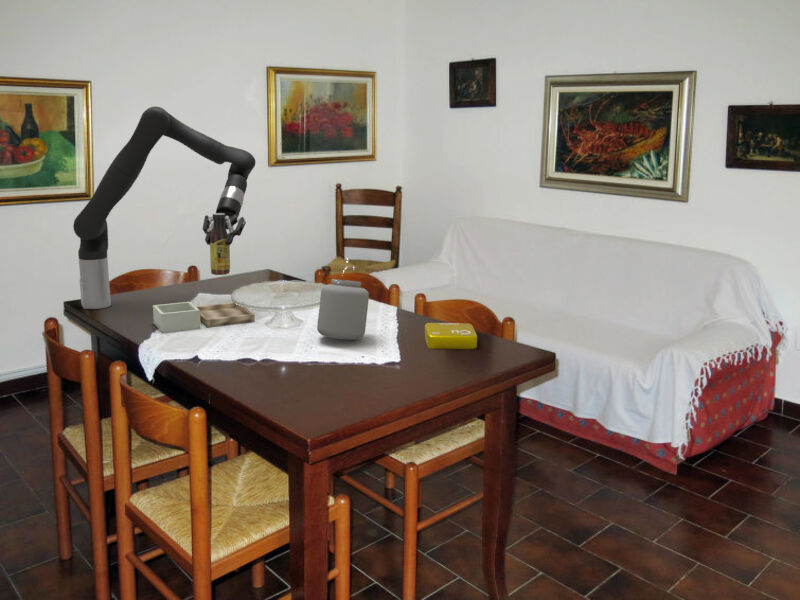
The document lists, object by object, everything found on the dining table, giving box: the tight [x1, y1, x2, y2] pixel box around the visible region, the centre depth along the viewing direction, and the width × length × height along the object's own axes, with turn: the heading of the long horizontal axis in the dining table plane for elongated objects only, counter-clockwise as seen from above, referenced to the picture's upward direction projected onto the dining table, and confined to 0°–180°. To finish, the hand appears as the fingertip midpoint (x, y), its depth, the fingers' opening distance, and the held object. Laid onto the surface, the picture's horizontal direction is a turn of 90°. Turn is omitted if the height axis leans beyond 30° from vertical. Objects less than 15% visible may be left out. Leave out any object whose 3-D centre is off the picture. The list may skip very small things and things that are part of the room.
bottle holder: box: [152, 301, 202, 334], centre depth 245 cm, size 12×12×6 cm
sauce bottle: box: [209, 212, 231, 276], centre depth 250 cm, size 6×6×20 cm
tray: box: [196, 302, 256, 328], centre depth 256 cm, size 16×18×2 cm
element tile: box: [424, 322, 478, 350], centre depth 236 cm, size 15×15×5 cm
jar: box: [316, 258, 370, 340], centre depth 234 cm, size 19×15×25 cm
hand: (217, 243), depth 248 cm, fingers closed on sauce bottle, 6 cm apart
